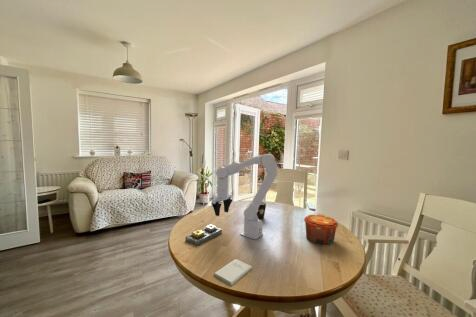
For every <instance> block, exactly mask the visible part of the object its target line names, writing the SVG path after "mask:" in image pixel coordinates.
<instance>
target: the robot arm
mask: <svg viewBox="0 0 476 317" xmlns="http://www.w3.org/2000/svg"><path fill="white" fill-rule="evenodd" d="M253 165H259V166H261V165H262V166H263V167H264V168H265V172H266V176H265V177H264V178H263V182H262V183H261V185H260V187H259V188H258V190H257V192H256V194H255V195H254V197H253V199H252V201H250V203H249V204H248V205H247V206H246V208H245V209H244V211H243V216H244V218H243V231H242V232H241V233H240V235H241V236H244V237H246V238H248V239H249V238H250V239H252V240H257V239H259V238H260V237H262V236H263V235H264V233H263V229H264V228H263V226H264V225H263V224H264V223H263V221H262V220H259V219H258V216H257V212H258V208H259V206H260V204H261V202H262V201H264V199H265V197H266V195H267V194H268V191H269V190H270V188H271V187H272V185H273V183H274V181H275V179H276V178H277V176H278V166H277V165H278V164H277V159H276V158H275V156H274V154H272V153H266V154H261V155H257V156H253V157H252V158H251V157H250V158H249V159H246V160H244V161H242V162H239V161H234V160H233V161H232V162H231V163H229V164H224V165H223V166H220V167H219V168H217V169H216V171H215V174H216V177H217V184H216V196H215V197H214V198H213V199H211V206H212V208H213V210H214V211H213V212H214V214H215V216H216V217H219V216H220V213H221V212H220V211H221V207H222V203H223V211H224V212H225V213H229V210H230V206H231V204H232V202H233V199H232V198H233V197H232V196H233V195H232V194H229V193H228V192H229V191H228V190H229V176H232V175H235V174H239V173H240V172H242V169H243V168H246V167H250V166H253ZM221 202H222V203H221Z"/></svg>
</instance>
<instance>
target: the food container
mask: <svg viewBox="0 0 476 317" xmlns="http://www.w3.org/2000/svg"><path fill="white" fill-rule="evenodd" d="M303 220H304V223H305V225H304V226H305V238H306V240H308V241H309V242H310V243H312V244H315V245H317V244H319V245H318V246H323V245H328V246H331V245H332V244H334V243H335V242H334V240H335V235H336V230H337V228H338V226H339V223H338V222H337V220H335V218H333V217H330V216H325V215H322V214H309V215H307V216H305V217H304V219H303Z"/></svg>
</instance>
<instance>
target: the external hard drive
mask: <svg viewBox="0 0 476 317" xmlns="http://www.w3.org/2000/svg"><path fill="white" fill-rule="evenodd" d="M252 268H253V266H252V265H250V264H248V263H246V262H243V261H241V260H239V259H237V258H235V259H234V260H232V261H230V262H228V263H227V264H226V265H224V266H223V267H221V268H219V270H217V271H216V272H214V273H213V276H214V277H216V278H218V279H219V280H221V281H223V282H225V283H226V284H228V285H230V286H233V285H234V284H235V283H236V282H237V281H238V280H240V279H241V278H242V277H244V276H245V275H246V274H247V273H248V272H249V271H251V270H252Z"/></svg>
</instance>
